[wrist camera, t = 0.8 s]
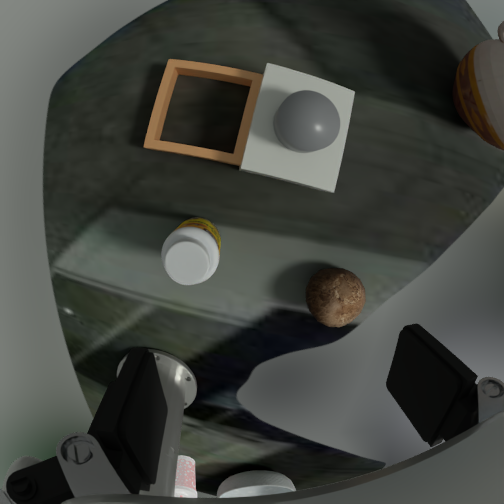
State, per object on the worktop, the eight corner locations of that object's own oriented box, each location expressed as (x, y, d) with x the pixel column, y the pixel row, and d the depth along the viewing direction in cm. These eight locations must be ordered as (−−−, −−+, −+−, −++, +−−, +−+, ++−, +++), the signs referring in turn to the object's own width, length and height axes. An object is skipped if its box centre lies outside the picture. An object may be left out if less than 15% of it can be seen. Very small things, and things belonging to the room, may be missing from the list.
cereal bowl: (305, 464, 48) (312, 488, 41) (268, 494, 51) (271, 515, 44) (235, 454, 45) (238, 481, 38) (205, 484, 48) (205, 507, 41)
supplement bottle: (229, 232, 34) (231, 255, 24) (205, 269, 35) (197, 305, 25) (190, 207, 33) (175, 219, 23) (166, 245, 33) (144, 272, 24)
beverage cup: (195, 469, 46) (193, 521, 32) (167, 463, 44) (160, 515, 31) (201, 457, 44) (200, 513, 31) (171, 450, 43) (165, 507, 30)
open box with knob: (319, 190, 33) (345, 194, 26) (148, 153, 30) (125, 146, 23) (338, 101, 31) (366, 84, 23) (173, 63, 28) (160, 34, 20)
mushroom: (333, 343, 35) (353, 337, 30) (286, 308, 37) (298, 297, 31) (361, 297, 38) (382, 284, 33) (318, 264, 40) (333, 246, 34)
